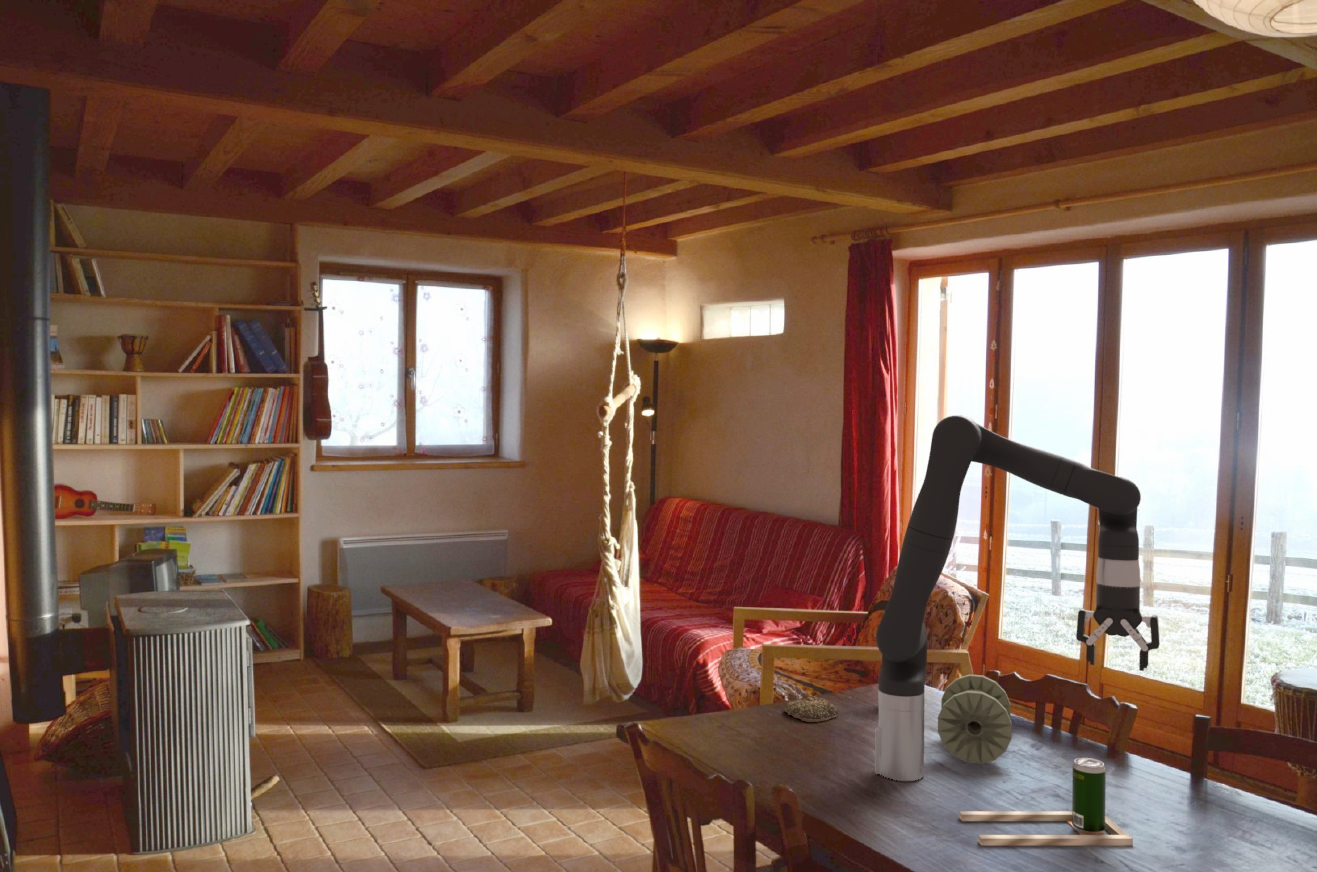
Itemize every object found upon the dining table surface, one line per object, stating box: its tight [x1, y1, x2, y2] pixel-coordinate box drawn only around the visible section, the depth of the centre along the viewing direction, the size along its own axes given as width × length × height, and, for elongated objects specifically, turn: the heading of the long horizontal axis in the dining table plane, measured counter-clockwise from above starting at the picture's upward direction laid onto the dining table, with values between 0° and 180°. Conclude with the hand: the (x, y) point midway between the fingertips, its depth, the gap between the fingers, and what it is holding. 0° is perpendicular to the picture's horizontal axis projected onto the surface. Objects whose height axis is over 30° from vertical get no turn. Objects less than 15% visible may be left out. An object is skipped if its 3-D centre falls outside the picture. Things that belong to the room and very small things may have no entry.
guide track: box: [959, 810, 1134, 847], centre depth 176 cm, size 26×12×1 cm, turn 90°
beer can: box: [1071, 757, 1107, 835], centre depth 176 cm, size 5×5×12 cm
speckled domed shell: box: [783, 695, 840, 719], centre depth 247 cm, size 13×12×5 cm
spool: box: [937, 674, 1013, 765], centre depth 220 cm, size 16×15×15 cm
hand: (1117, 667), depth 189 cm, fingers open, 8 cm apart
